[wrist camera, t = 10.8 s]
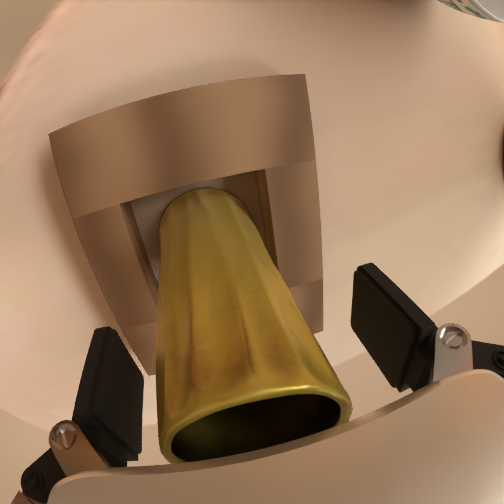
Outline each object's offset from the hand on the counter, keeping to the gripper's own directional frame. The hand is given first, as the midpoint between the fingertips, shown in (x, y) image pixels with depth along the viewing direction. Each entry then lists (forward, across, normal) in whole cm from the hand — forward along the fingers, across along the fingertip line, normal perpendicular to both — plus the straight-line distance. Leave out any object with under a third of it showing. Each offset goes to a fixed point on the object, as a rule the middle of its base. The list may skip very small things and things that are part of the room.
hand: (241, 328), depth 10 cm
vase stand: (+9, +1, 0) cm, 9 cm away
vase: (+10, +1, 0) cm, 10 cm away
